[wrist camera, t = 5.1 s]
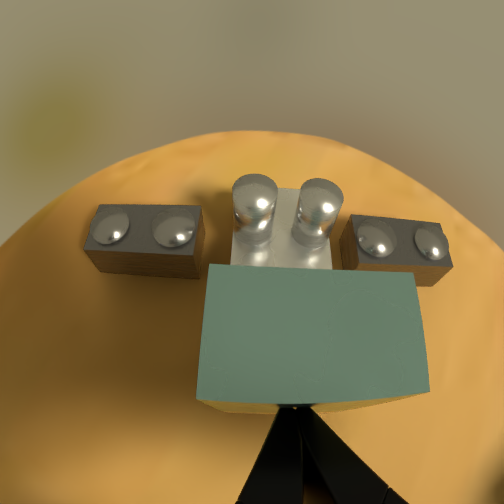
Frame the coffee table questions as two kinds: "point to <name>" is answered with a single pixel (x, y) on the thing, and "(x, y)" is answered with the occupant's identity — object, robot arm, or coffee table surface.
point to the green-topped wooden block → (303, 313)
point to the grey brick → (193, 234)
